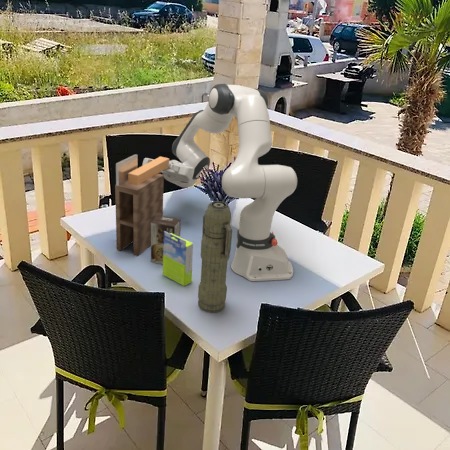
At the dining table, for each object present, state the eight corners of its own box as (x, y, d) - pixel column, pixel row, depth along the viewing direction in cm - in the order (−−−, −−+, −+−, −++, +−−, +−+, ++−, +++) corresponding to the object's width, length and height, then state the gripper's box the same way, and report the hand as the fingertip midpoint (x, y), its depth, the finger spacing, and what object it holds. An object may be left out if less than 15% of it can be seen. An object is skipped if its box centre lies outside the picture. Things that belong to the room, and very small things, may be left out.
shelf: (142, 231, 207) (142, 170, 196) (162, 236, 204) (163, 174, 193) (116, 249, 192) (115, 184, 181) (137, 256, 189) (137, 190, 178)
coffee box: (180, 258, 190) (181, 219, 183) (173, 267, 184) (175, 226, 177) (156, 253, 192) (157, 214, 185) (150, 262, 186) (150, 221, 179)
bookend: (135, 175, 191) (135, 154, 187) (137, 175, 190) (137, 154, 187) (116, 185, 181) (115, 163, 177) (118, 185, 180) (118, 164, 177)
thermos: (208, 291, 172) (214, 194, 157) (234, 307, 165) (243, 207, 149) (188, 301, 166) (193, 201, 151) (214, 318, 159) (222, 215, 144)
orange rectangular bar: (160, 165, 202) (160, 156, 200) (169, 167, 201) (169, 158, 199) (128, 182, 184) (128, 173, 182) (138, 184, 182) (137, 175, 181)
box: (192, 282, 176) (194, 237, 169) (184, 287, 173) (186, 241, 166) (169, 270, 182) (171, 226, 174) (161, 275, 179) (162, 230, 171)
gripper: (153, 159, 213) (137, 150, 200) (198, 169, 206) (184, 160, 193) (149, 173, 213) (133, 166, 200) (194, 184, 206) (180, 177, 193)
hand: (159, 163), depth 197 cm, fingers open, 8 cm apart
